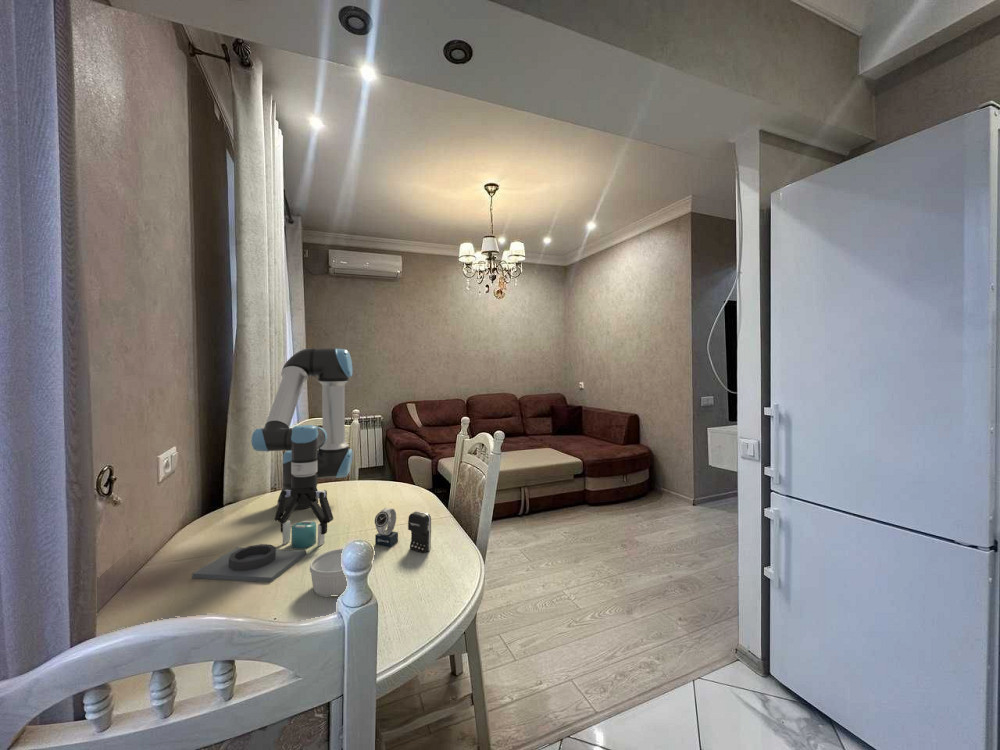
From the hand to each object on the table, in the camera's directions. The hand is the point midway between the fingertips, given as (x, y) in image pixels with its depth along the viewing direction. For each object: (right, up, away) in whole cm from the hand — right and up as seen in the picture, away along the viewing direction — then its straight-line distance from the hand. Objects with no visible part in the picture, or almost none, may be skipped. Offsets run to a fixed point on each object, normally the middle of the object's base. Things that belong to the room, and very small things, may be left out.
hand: (303, 543), depth 126 cm
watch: (+26, -1, +1) cm, 26 cm away
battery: (+37, -1, -4) cm, 38 cm away
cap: (0, 0, 0) cm, 0 cm away
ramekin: (+21, -1, -25) cm, 32 cm away
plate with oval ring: (-7, 0, -14) cm, 16 cm away
